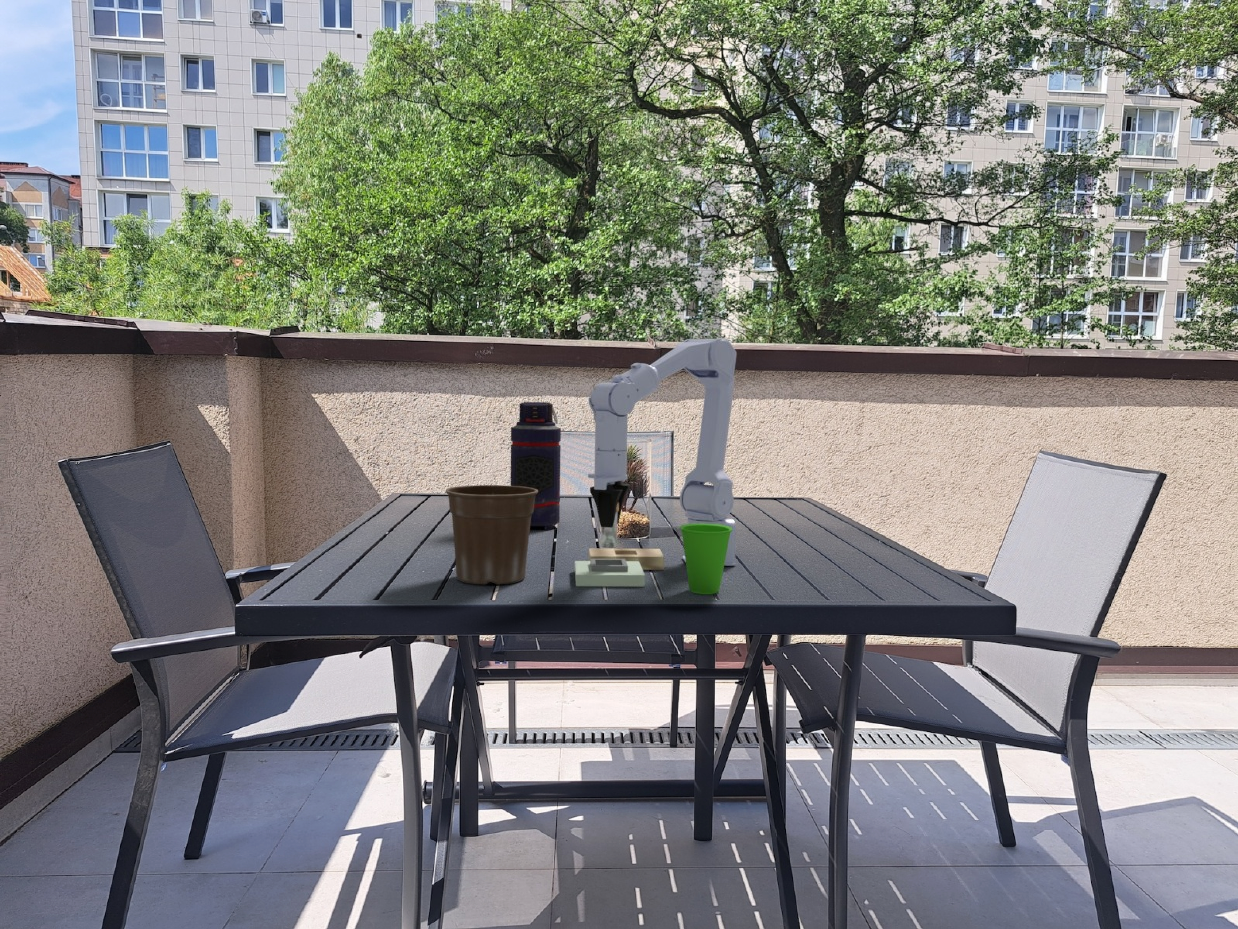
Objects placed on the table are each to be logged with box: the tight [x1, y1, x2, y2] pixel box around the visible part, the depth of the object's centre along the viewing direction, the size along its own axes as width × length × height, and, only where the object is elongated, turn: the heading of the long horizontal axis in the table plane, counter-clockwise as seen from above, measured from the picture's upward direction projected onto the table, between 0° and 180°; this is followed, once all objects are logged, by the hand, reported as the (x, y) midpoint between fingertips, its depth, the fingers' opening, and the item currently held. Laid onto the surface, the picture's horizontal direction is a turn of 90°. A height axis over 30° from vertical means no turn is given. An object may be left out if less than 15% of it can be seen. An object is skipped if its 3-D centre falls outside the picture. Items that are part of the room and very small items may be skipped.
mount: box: [588, 547, 665, 571], centre depth 176 cm, size 14×8×2 cm, turn 94°
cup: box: [679, 523, 733, 595], centre depth 156 cm, size 9×9×11 cm
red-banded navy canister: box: [510, 401, 562, 531], centre depth 219 cm, size 14×12×30 cm
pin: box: [599, 502, 619, 549], centre depth 163 cm, size 3×3×8 cm
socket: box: [574, 559, 646, 587], centre depth 164 cm, size 12×12×3 cm
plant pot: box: [445, 484, 538, 585], centre depth 162 cm, size 16×16×16 cm
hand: (609, 525), depth 163 cm, fingers closed on pin, 3 cm apart
